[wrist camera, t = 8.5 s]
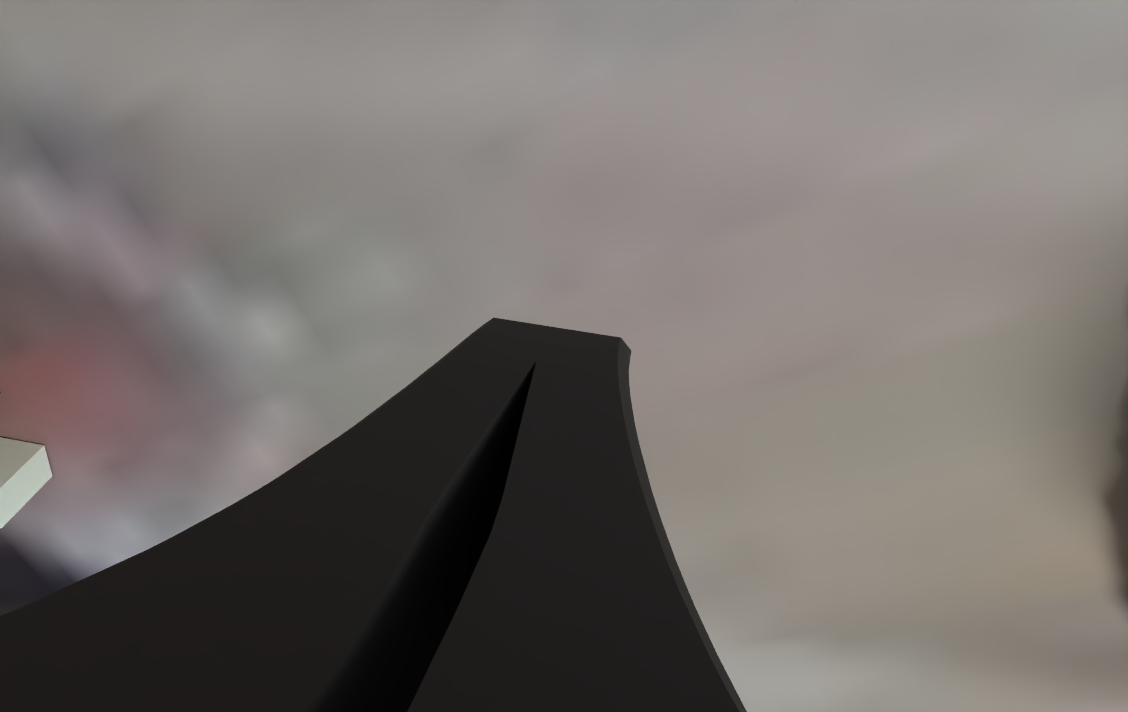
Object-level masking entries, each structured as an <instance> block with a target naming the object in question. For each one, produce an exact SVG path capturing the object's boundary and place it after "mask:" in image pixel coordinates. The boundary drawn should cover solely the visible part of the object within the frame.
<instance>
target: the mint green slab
mask: <svg viewBox="0 0 1128 712" xmlns="http://www.w3.org/2000/svg"><path fill="white" fill-rule="evenodd" d="M51 477H52V472H51V469H50V465H49V461H48V458H47V454H46V450H45V446H44V445H40V444H34V443H29V442H23V441H18V440H12V439H7V438H1V437H0V528H2V527H3V526H4V525H5V524H6V523H7V522H8V521H9V520H10V519H11V518H12V517H13V516H14V515H15V514H16V513H17V512H18V511H19V510H20V509H21V508H22V507H23V506H24V505H25V504H26V503H27V502H28V501H29V500H30V499H31V498H32V497H33V496H34V495H35V493H36V492H37V491H38V490H39V489H40V488H41V487H42V486H43V485H44V484H45V483H46V482H47V481H48V480H49V479H50V478H51Z"/></svg>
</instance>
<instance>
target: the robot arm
mask: <svg viewBox="0 0 1128 712" xmlns="http://www.w3.org/2000/svg"><path fill="white" fill-rule="evenodd" d="M630 356H631V350H630V349H629V347H628V346H627V345H626V343H625V342H624V341H623V340H622V338H619V337H613V336H607V335H600V334H594V333H587V332H581V331H575V330H568V329H562V328H556V327H549V326H543V325H536V324H530V323H524V322H517V321H511V320H505V319H498V318H493V319H491V320H490V321H488V322H487V323H485V324H484V325H483V326H481V327H480V328H479V329H477V330H476V331H475V332H474V333H472V334H471V335H470V336H469V337H467V338H466V339H465V340H464V341H462V342H461V343H460V344H459V345H458V346H456V347H455V348H454V349H453V350H451V351H450V352H449V353H448V354H447V355H445V356H444V357H443V358H442V359H440V360H439V361H438V362H437V363H435V364H434V365H433V366H432V367H430V368H429V369H428V370H427V371H425V372H424V373H423V374H422V375H420V376H419V377H418V378H417V379H415V380H414V381H413V382H412V383H410V384H409V385H408V386H407V387H405V388H404V389H403V390H401V391H400V392H399V393H397V394H396V395H395V396H393V397H392V398H391V399H389V400H388V401H387V402H385V403H384V404H383V405H381V406H380V407H379V408H377V409H376V410H375V411H373V412H372V413H371V414H369V415H368V416H367V417H365V418H364V419H363V420H361V421H360V422H359V423H357V424H356V425H355V426H353V427H352V428H350V429H349V430H348V431H346V432H345V433H343V434H342V435H341V436H339V437H338V438H336V439H335V440H333V441H332V442H330V443H329V444H327V445H326V446H324V447H323V448H321V449H320V450H318V451H317V452H315V453H314V454H312V455H311V456H309V457H308V458H306V459H305V460H303V461H302V462H300V463H299V464H297V465H296V466H294V467H293V468H291V469H290V470H288V471H287V472H285V473H284V474H282V475H281V476H279V477H278V478H276V479H275V480H273V481H271V482H270V483H268V484H267V485H265V486H263V487H262V488H260V489H258V490H257V491H255V492H253V493H251V494H250V495H248V496H246V497H245V498H243V499H241V500H239V501H238V502H236V503H234V504H233V505H231V506H229V507H227V508H225V509H223V510H222V511H220V512H218V513H216V514H214V515H212V516H211V517H209V518H207V519H205V520H203V521H201V522H199V523H198V524H196V525H194V526H192V527H190V528H188V529H186V530H185V531H183V532H181V533H179V534H177V535H175V536H174V537H172V538H170V539H168V540H166V541H164V542H162V543H160V544H158V545H156V546H154V547H152V548H150V549H148V550H146V551H144V552H141V553H139V554H137V555H135V556H133V557H131V558H128V559H126V560H124V561H122V562H120V563H117V564H115V565H113V566H111V567H109V568H107V569H104V570H102V571H100V572H98V573H96V574H93V575H91V576H89V577H87V578H85V579H83V580H80V581H78V582H76V583H74V584H72V585H69V586H67V587H65V588H63V589H61V590H59V591H56V592H54V593H52V594H50V595H48V596H45V597H43V598H41V599H39V600H37V601H35V602H32V603H30V604H28V605H26V606H24V607H21V608H19V609H16V610H14V611H12V612H9V613H7V614H4V615H2V616H0V712H747V711H746V710H745V708H744V706H743V704H742V702H741V700H740V698H739V696H738V694H737V692H736V690H735V688H734V686H733V684H732V682H731V680H730V678H729V677H728V675H727V673H726V671H725V669H724V667H723V665H722V663H721V661H720V659H719V657H718V655H717V653H716V651H715V649H714V647H713V645H712V642H711V640H710V638H709V636H708V634H707V632H706V630H705V627H704V625H703V623H702V621H701V619H700V617H699V615H698V612H697V610H696V608H695V606H694V603H693V601H692V599H691V596H690V594H689V592H688V589H687V587H686V585H685V582H684V580H683V577H682V575H681V572H680V570H679V567H678V565H677V562H676V560H675V557H674V554H673V551H672V549H671V546H670V543H669V540H668V538H667V535H666V532H665V529H664V527H663V524H662V521H661V518H660V515H659V512H658V509H657V506H656V503H655V499H654V496H653V493H652V490H651V486H650V483H649V479H648V475H647V472H646V468H645V464H644V460H643V457H642V453H641V449H640V445H639V441H638V437H637V432H636V427H635V422H634V416H633V410H632V404H631V398H630V388H629V363H630Z"/></svg>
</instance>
